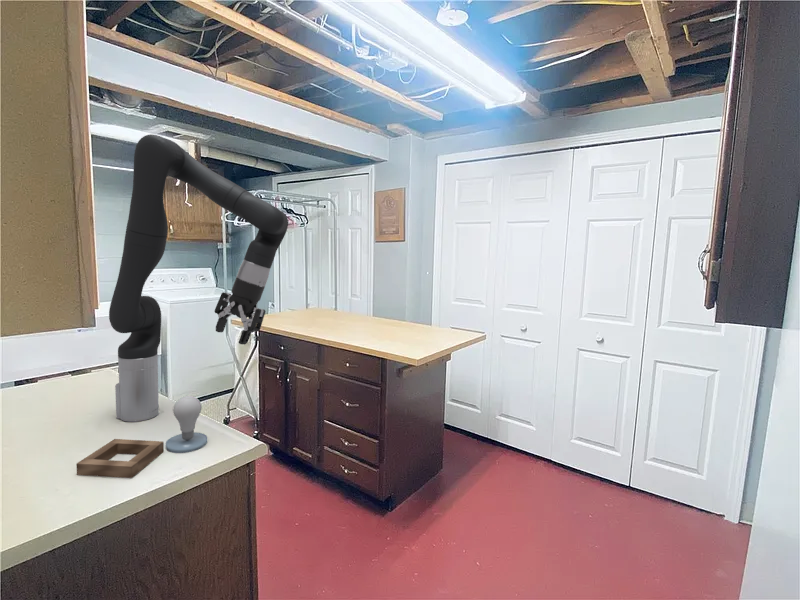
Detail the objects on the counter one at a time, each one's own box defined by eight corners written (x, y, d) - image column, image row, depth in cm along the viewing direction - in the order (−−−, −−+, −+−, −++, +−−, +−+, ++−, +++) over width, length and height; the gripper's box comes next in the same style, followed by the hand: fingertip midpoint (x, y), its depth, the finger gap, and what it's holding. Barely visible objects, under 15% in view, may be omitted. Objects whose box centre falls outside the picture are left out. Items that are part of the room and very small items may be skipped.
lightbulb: (207, 438, 105) (206, 395, 103) (183, 448, 99) (183, 403, 98) (191, 432, 108) (191, 390, 106) (168, 441, 102) (167, 397, 101)
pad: (157, 451, 99) (157, 447, 99) (178, 435, 108) (178, 431, 108) (196, 454, 99) (196, 449, 99) (213, 437, 108) (213, 433, 108)
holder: (76, 475, 88) (76, 463, 88) (114, 449, 100) (114, 438, 99) (132, 478, 88) (131, 466, 88) (163, 451, 99) (163, 441, 99)
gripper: (221, 269, 111) (200, 327, 112) (261, 287, 106) (239, 348, 106) (241, 274, 118) (222, 328, 119) (280, 290, 113) (259, 348, 113)
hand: (230, 337), depth 113 cm, fingers open, 8 cm apart
